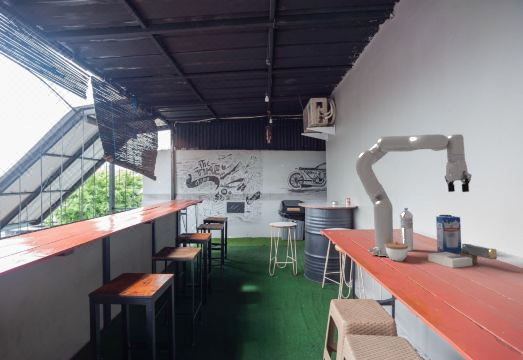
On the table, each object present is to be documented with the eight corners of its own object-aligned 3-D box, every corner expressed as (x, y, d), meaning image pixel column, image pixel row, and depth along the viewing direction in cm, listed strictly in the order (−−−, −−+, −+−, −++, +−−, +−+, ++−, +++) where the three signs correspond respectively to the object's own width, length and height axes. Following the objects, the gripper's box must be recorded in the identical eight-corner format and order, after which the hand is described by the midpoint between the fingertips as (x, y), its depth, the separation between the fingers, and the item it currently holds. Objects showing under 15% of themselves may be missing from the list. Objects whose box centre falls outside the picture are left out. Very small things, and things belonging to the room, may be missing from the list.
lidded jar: (386, 261, 148) (386, 243, 149) (385, 256, 159) (384, 239, 159) (410, 263, 145) (409, 244, 145) (406, 257, 155) (406, 240, 155)
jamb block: (471, 264, 139) (470, 255, 140) (459, 261, 145) (459, 252, 145) (477, 264, 141) (477, 254, 141) (465, 261, 146) (465, 251, 146)
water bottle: (411, 248, 176) (409, 207, 176) (415, 251, 169) (414, 208, 170) (399, 248, 177) (397, 207, 177) (403, 251, 170) (402, 208, 170)
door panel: (452, 267, 135) (452, 259, 135) (428, 260, 149) (427, 253, 149) (472, 265, 138) (472, 257, 138) (446, 258, 152) (446, 251, 152)
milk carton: (443, 253, 163) (442, 217, 164) (437, 250, 169) (436, 216, 170) (461, 252, 163) (460, 217, 163) (454, 250, 169) (453, 216, 169)
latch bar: (460, 252, 144) (460, 243, 144) (466, 251, 145) (466, 243, 145) (492, 259, 129) (492, 250, 129) (499, 258, 130) (498, 249, 130)
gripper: (437, 160, 158) (439, 192, 158) (461, 157, 141) (464, 192, 141) (450, 160, 159) (453, 191, 158) (476, 156, 142) (479, 191, 141)
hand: (458, 191), depth 149 cm, fingers open, 9 cm apart
